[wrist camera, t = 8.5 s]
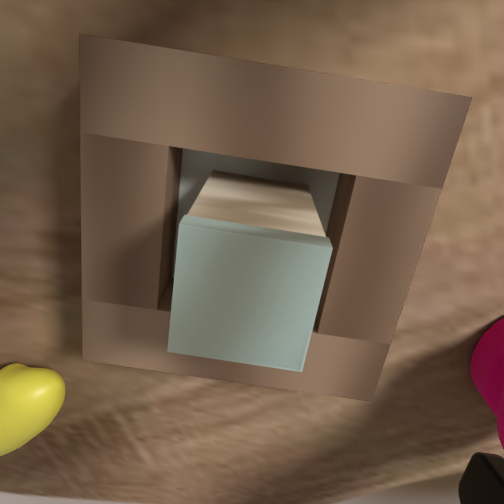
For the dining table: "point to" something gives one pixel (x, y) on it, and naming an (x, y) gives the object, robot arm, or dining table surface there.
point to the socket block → (262, 166)
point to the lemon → (27, 403)
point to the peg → (248, 272)
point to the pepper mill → (491, 371)
